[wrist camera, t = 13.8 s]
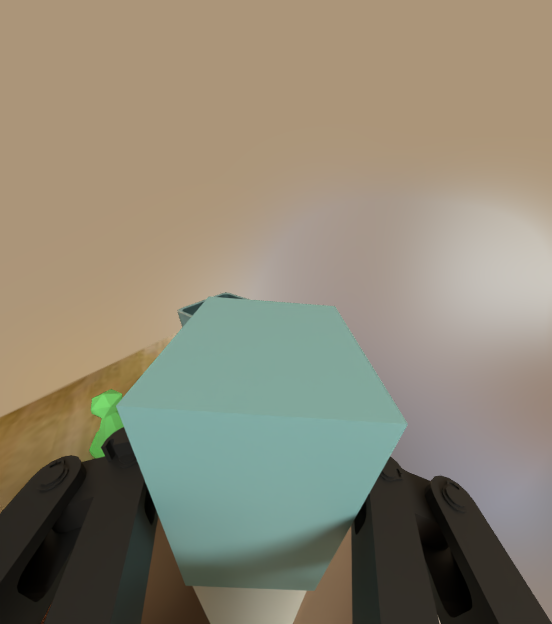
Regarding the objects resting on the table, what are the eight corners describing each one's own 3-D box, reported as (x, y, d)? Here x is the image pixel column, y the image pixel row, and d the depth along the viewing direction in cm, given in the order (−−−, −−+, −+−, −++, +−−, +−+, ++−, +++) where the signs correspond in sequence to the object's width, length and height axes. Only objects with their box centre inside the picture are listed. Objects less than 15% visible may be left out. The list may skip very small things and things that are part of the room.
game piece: (89, 436, 19) (65, 391, 17) (141, 411, 22) (128, 368, 19) (94, 476, 16) (66, 430, 14) (153, 442, 19) (139, 397, 17)
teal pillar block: (185, 585, 9) (115, 405, 4) (219, 449, 15) (208, 296, 9) (314, 591, 9) (408, 424, 4) (301, 453, 15) (334, 306, 10)
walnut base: (101, 547, 13) (85, 526, 12) (256, 411, 23) (257, 390, 22) (246, 1080, 5) (248, 1208, 4) (386, 525, 15) (401, 505, 14)
